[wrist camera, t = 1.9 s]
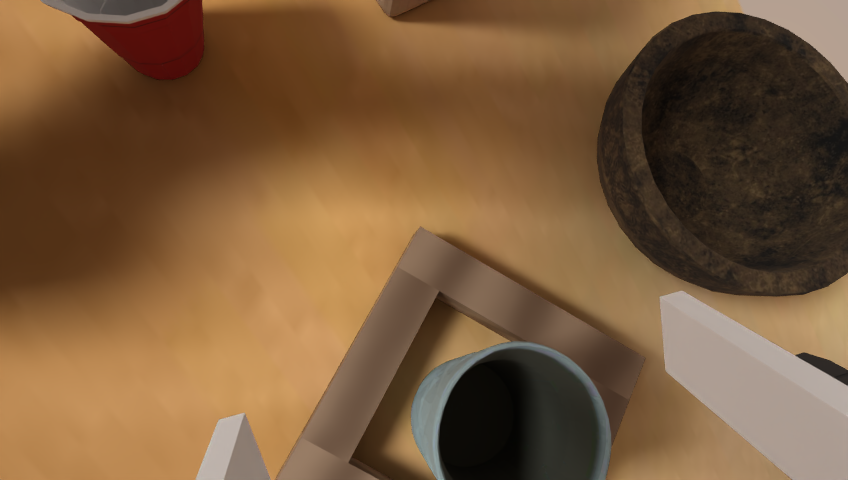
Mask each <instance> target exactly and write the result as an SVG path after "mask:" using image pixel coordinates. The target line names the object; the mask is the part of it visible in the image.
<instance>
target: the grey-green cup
mask: <svg viewBox="0 0 848 480" xmlns="http://www.w3.org/2000/svg"><path fill="white" fill-rule="evenodd" d="M411 426H412V432H413V436H414V439H415V442H416V444H417V446H418V448H419V450H420V452H421V454H422V455H423V457H424V459H425V460H426V462H427V464H428V466H429V468H430V469H431V471H432V472H433V474H434V476H435V477H436V479H437V480H605V479H606V475H607V471H608V466H609V462H610V454H611V430H610V424H609V418H608V415H607V412H606V409H605V406H604V402H603V400H602V398H601V396H600V394H599V392H598V390H597V388H596V387H595V385H594V384H593V382H592V381H591V379H590V378H589V377H588V376H587V374H586V373H585V372H584V371H583V370H582V369H581V368H580V367H579V366H578V365H577V364H576V363H574V362H573V361H572V360H571V359H570V358H568V357H567V356H565V355H564V354H562V353H560V352H558V351H557V350H554V349H552V348H550V347H547V346H545V345H542V344H537V343H533V342H522V341H513V342H507V343H501V344H498V345H495V346H491V347H489V348H486V349H484V350H481V351H479V352H476V353H475V352H474V353H471V354H468V355H465V356H462V357H459V358H456V359H453V360H450V361H447V362H445V363H443V364H441V365H439V366H438V367H436V368H435V369H434V370H432V371H431V372H430V373H429V374H428V375H427V376H426V377H425V379H424V380H423V381H422V383H421V384H420V386H419V388H418V391H417V393H416V395H415V397H414V400H413V404H412V410H411Z"/></svg>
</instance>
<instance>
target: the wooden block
mask: <svg viewBox="0 0 848 480" xmlns="http://www.w3.org/2000/svg"><path fill="white" fill-rule="evenodd" d="M428 1H430V0H377V2H378V4H379V5H380V7H381V8H382V10H383V11H384V13H386V14H387V15H388V16H397V15H399V14H401V13H404V12H406V11H408V10H410V9H412V8H415V7H417V6H419V5H421V4H423V3H426V2H428Z"/></svg>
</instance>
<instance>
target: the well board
mask: <svg viewBox="0 0 848 480" xmlns="http://www.w3.org/2000/svg"><path fill="white" fill-rule="evenodd" d="M435 298H437V299H438V300H440V301H442V302H444V303H445V304H447V305H449V306H451V307H452V308H454V309H456V310H458V311H459V312H461V313H463V314H465V315H466V316H468V317H470V318H471V319H473V320H475V321H477V322H478V323H480V324H482V325H484V326H485V327H487V328H489V329H491V330H492V331H494V332H496V333H498V334H499V335H501V336H503V337H505V338H506V339H508V340H510V341H511V342H513V341H522V342H533V343H537V344H542V345H545V346H547V347H550V348H552V349H554V350H557V351H558V352H560V353H562V354H564V355H565V356H567V357H568V358H570V359H571V360H572V361H573V362H574V363H576V364H577V365H578V366H579V367H580V368H581V369H582V370H583V371H584V372H585V373H586V374H587V376H588V377H589V378H590V379H591V381H592V382H593V384H594V385H595V387H596V388H597V390H598V392H599V394H600V396H601V398H602V400H603V402H604V406H605V409H606V412H607V415H608V418H609V424H610V430H611V447H612V444H613V442H614V439H615V436H616V434H617V431H618V429H619V426H620V423H621V421H622V418H623V415H624V413H625V410H626V408H627V405H628V402H629V400H630V397H631V395H632V392H633V389H634V387H635V384H636V382H637V379H638V376H639V374H640V371H641V369H642V366H643V363H644V361H645V357H643V356H641V355H640V354H638V353H636V352H635V351H633V350H631V349H629V348H628V347H626V346H624V345H623V344H621V343H619V342H617V341H616V340H614V339H612V338H611V337H609V336H607V335H605V334H604V333H602V332H600V331H599V330H597V329H595V328H593V327H592V326H590V325H588V324H587V323H585V322H583V321H581V320H580V319H578V318H576V317H575V316H573V315H571V314H569V313H568V312H566V311H564V310H563V309H561V308H559V307H557V306H556V305H554V304H552V303H551V302H549V301H547V300H545V299H544V298H542V297H540V296H539V295H537V294H535V293H533V292H532V291H530V290H528V289H527V288H525V287H523V286H521V285H520V284H518V283H516V282H515V281H513V280H511V279H509V278H508V277H506V276H504V275H503V274H501V273H499V272H497V271H496V270H494V269H492V268H491V267H489V266H487V265H485V264H484V263H482V262H480V261H479V260H477V259H475V258H473V257H472V256H470V255H468V254H467V253H465V252H463V251H461V250H460V249H458V248H456V247H455V246H453V245H451V244H449V243H448V242H446V241H444V240H443V239H441V238H439V237H438V236H436V235H434V234H432V233H431V232H429V231H427V230H426V229H424V228H422V227H420V228H419V229H418V230H417V231H416V233H415V234H414V235H413V237H412V239H411V240H410V242H409V244H408V246H407V247H406V249H405V251H404V253H403V254H402V256H401V258H400V260H399V262H398V263H397V265H396V267H395V269H394V270H393V272H392V274H391V276H390V277H389V279H388V281H387V283H386V284H385V286H384V288H383V290H382V292H381V293H380V295H379V297H378V299H377V300H376V302H375V304H374V306H373V307H372V309H371V311H370V313H369V315H368V316H367V318H366V320H365V322H364V323H363V325H362V327H361V329H360V330H359V332H358V334H357V336H356V337H355V339H354V341H353V343H352V345H351V346H350V348H349V350H348V352H347V353H346V355H345V357H344V359H343V360H342V362H341V364H340V366H339V367H338V369H337V371H336V373H335V375H334V376H333V378H332V380H331V382H330V383H329V385H328V387H327V389H326V390H325V392H324V394H323V396H322V397H321V399H320V401H319V403H318V405H317V406H316V408H315V410H314V412H313V413H312V415H311V417H310V419H309V420H308V422H307V424H306V426H305V427H304V429H303V431H302V433H301V435H300V436H299V438H298V440H297V442H296V443H295V445H294V447H293V449H292V450H291V452H290V454H289V456H288V457H287V459H286V461H285V463H284V465H283V466H282V468H281V470H280V472H279V473H278V475H277V477H276V479H275V480H393V479H391V478H389V477H388V476H386V475H384V474H382V473H380V472H378V471H377V470H375V469H373V468H371V467H369V466H367V465H366V464H364V463H362V462H360V461H358V460H356V459H355V458H353V457H351V456H352V454H353V453H354V451H355V449H356V447H357V445H358V443H359V441H360V439H361V437H362V436H363V434H364V432H365V430H366V428H367V426H368V424H369V422H370V420H371V419H372V417H373V415H374V413H375V411H376V409H377V407H378V405H379V403H380V402H381V400H382V398H383V396H384V394H385V392H386V390H387V388H388V387H389V385H390V383H391V381H392V379H393V377H394V375H395V373H396V371H397V370H398V368H399V366H400V364H401V362H402V360H403V358H404V356H405V354H406V353H407V351H408V349H409V347H410V345H411V343H412V341H413V339H414V337H415V336H416V334H417V332H418V330H419V328H420V326H421V324H422V322H423V321H424V319H425V317H426V315H427V313H428V311H429V309H430V307H431V305H432V304H433V302H434V300H435Z"/></svg>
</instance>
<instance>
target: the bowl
mask: <svg viewBox="0 0 848 480" xmlns="http://www.w3.org/2000/svg"><path fill="white" fill-rule="evenodd" d="M597 163H598V170H599V176H600V183H601V186H602V189H603V191H604V194H605V197H606V200H607V203H608V206H609V208H610V210H611V211H612V213H613V215H614V217H615V219H616V220H617V222H618V224H619V226H620V228H621V229H622V230H623V231H624V233H625V234H626V235H627V236H628V238H629V239H630V240H631V241H632V243H633V244H634V245H635V247H637V248H638V249H639V250H640V251H641V252H642V253H643V254H644V255H645V256H647V257H648V258H649V259H650V260H651V261H652V262H653V263H655V264H656V265H658V266H659V267H661V268H663V269H664V270H666V271H668V272H669V273H671V274H672V275H674V276H676V277H678V278H680V279H683V280H685V281H687V282H689V283H692V284H695V285H697V286H700V287H703V288H705V289H708V290H711V291H715V292H721V293H727V294H734V295H750V296H789V295H803V294H806V293H809V292H812V291H815V290H818V289H822V288H825V287H827V286H829V285H830V284H832V283H833V282H835V281H836V280H838V279H839V278H841V277H843V276H844V275H846V274H847V273H848V83H847V82H846V81H845V79H844V78H843V77H842V76H841V75H840V74H839V72H838V71H837V70H836V69H835V68H834V66H833V65H832V64H831V63H830V62H829V61H828V60H827V59H826V58H825V57H823V56H822V55H821V54H820V53H819V52H818V51H817V50H816V49H815V48H813V47H812V46H811V45H810V44H809V43H807V42H806V41H804V40H802V39H801V38H800V37H798V36H796V35H795V34H793V33H792V32H790V31H789V30H787V29H784V28H783V27H780V26H778V25H776V24H774V23H771V22H769V21H767V20H765V19H761V18H757V17H753V16H749V15H746V14H742V13H731V12H709V13H702V14H696V15H691V16H689V17H686V18H684V19H681V20H679V21H676V22H674V23H671V24H670V25H669V26H667V27H666V28H664V29H663V30H662V31H660V32H659V33H657V34H656V35H655V36H653V37H652V38H651V40H650V41H649V42H648V43H647V44H646V46H645V47H644V48H643V49H642V50H641V51H640V53H639V54H638V55H637V56H636V58H635V59H634V60H633V61H632V63H631V64H630V65H629V67H628V68H627V69H626V70H625V72H624V73H623V74H622V76H621V77H620V78H619V80H618V81H617V82H616V84H615V86H614V88H613V90H612V92H611V94H610V96H609V98H608V100H607V102H606V106H605V110H604V114H603V118H602V122H601V126H600V130H599V135H598V146H597Z"/></svg>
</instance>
